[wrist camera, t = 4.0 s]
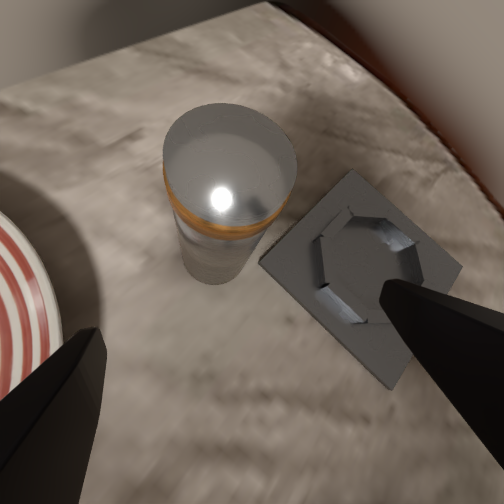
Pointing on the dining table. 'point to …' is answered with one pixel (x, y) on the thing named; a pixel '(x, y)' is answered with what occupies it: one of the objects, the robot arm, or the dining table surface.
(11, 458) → the robot arm
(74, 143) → the dining table surface
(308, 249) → the flange
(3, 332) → the dinner plate
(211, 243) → the grey cylindrical piece
